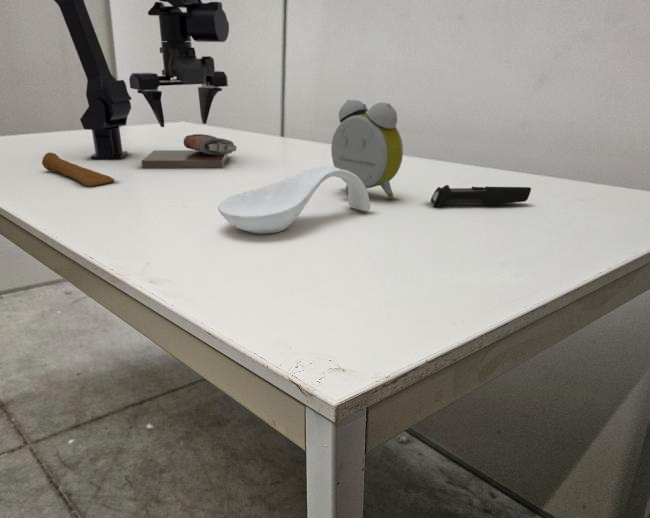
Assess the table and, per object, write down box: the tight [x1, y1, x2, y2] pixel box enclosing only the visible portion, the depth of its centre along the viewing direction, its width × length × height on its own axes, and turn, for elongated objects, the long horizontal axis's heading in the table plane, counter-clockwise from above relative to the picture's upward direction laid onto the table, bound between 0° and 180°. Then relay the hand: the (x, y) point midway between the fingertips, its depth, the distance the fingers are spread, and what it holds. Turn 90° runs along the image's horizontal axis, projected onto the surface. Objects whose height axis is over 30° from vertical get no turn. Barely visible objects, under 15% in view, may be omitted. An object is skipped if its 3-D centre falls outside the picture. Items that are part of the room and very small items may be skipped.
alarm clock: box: [330, 99, 404, 200], centre depth 100 cm, size 12×7×15 cm, turn 47°
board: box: [141, 149, 229, 169], centre depth 129 cm, size 12×16×2 cm
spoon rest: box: [217, 165, 371, 235], centre depth 88 cm, size 24×12×7 cm, turn 127°
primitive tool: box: [41, 152, 115, 187], centre depth 115 cm, size 19×6×4 cm, turn 51°
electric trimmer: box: [430, 184, 532, 208], centre depth 98 cm, size 4×16×3 cm, turn 92°
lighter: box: [183, 133, 237, 155], centre depth 130 cm, size 8×3×10 cm
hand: (183, 125), depth 127 cm, fingers open, 9 cm apart
